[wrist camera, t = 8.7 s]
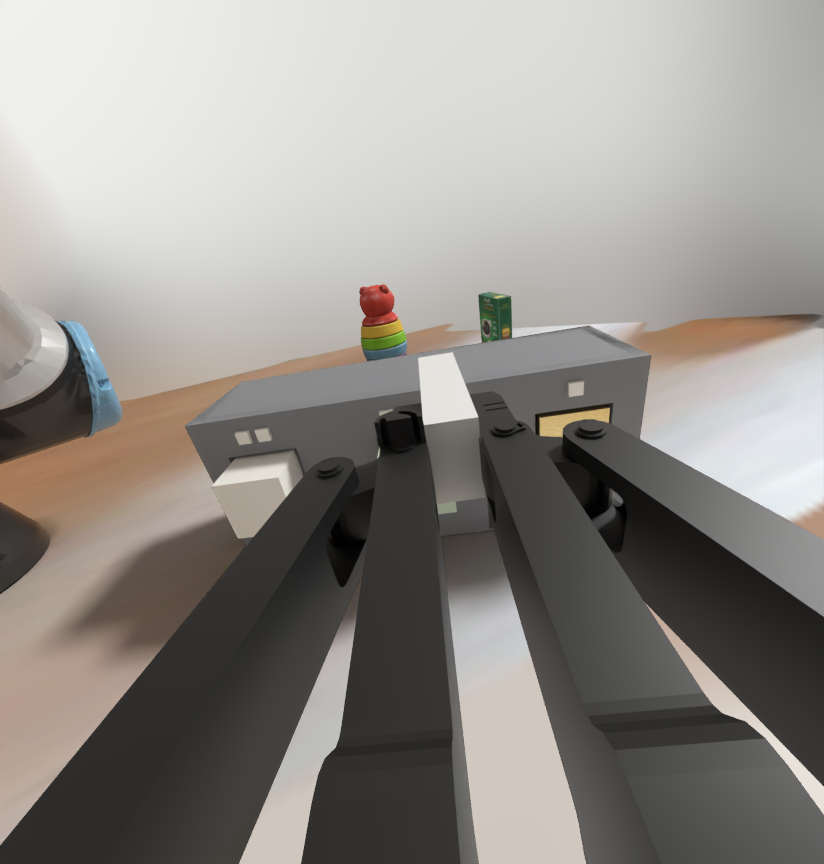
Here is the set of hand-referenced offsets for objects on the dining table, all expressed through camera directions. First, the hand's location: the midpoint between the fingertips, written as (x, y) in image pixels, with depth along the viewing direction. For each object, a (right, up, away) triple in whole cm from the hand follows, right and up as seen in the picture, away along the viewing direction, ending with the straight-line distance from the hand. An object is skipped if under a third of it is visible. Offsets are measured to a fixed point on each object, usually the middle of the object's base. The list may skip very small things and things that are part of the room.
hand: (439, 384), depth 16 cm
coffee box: (+16, +11, +55) cm, 59 cm away
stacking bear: (-6, +11, +62) cm, 64 cm away
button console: (+1, -9, +21) cm, 23 cm away
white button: (-12, -9, +14) cm, 21 cm away
